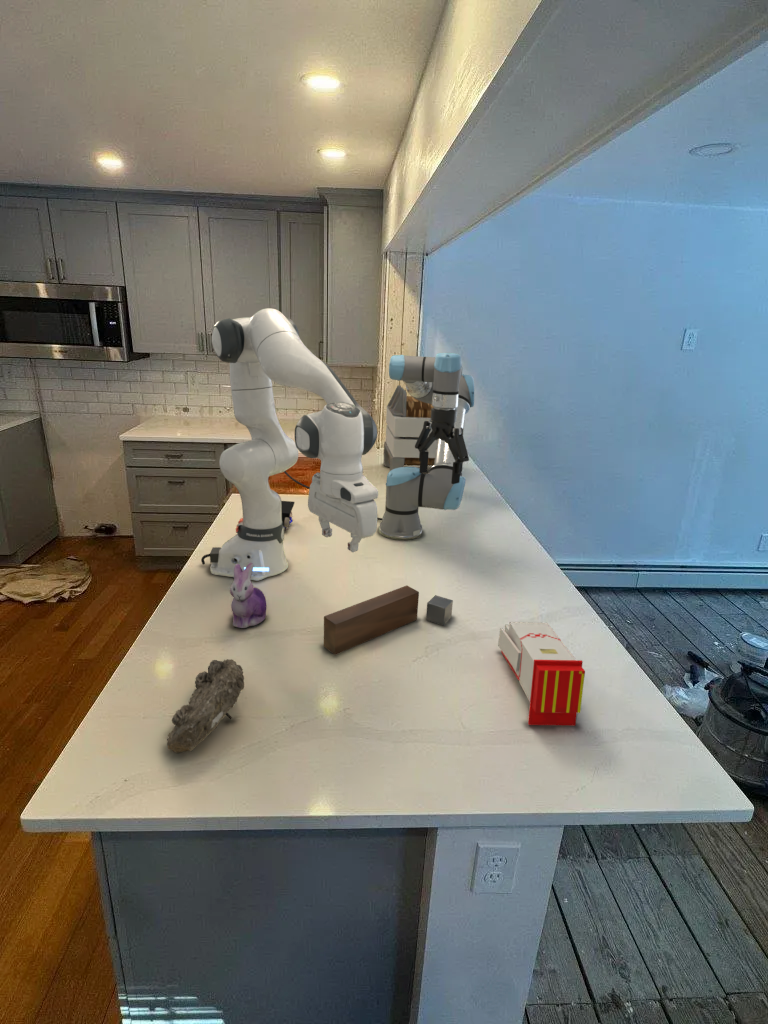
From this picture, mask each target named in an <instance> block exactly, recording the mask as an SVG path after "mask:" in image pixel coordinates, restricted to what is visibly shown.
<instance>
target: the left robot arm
mask: <svg viewBox="0 0 768 1024" xmlns="http://www.w3.org/2000/svg"><path fill="white" fill-rule="evenodd" d="M211 330H212V332H211V344H212V348H213V351H214V354H215V355H216V357H217V358H218V360H220V361H221V362H225V363H229V384H230V394H231V400H232V407H233V415H234V418H235V420H236V421H237V422H238V423H239V424H241V425H243V426H245V428H246V429H247V430H248V432H249V434H250V438H251V440H248V441H243V442H242V441H241V442H238V443H235V444H234V445H231V446H230V447H228V448H227V449H224V450H223V451H222V452H221V454H220V455H219V461H218V462H219V470H220V473H221V474H222V476H223V478H225V480H227V482H230V483H231V484H233V486H234V487H235V488H236V490H237V491H238V493H239V497H240V500H241V509H242V510H241V511H242V517H241V518H240V519H239V520H238V522H237V525H236V528H235V533H236V534H234V535H233V536H232V537H230V538H229V539H228V540H226V541H225V542H224V543H223V544H222V546H221V547H216V546H215V547H212V548H211V550H210V552H209V553H208V554H204V555H202V557H201V558H200V559H201V565H203V566H204V565H206V562H205V559H206V558H209V562H210V569H209V570H210V573H211V574H212V575H214V576H223V577H229V578H234V567H235V565H236V564H239V565H240V567H241V569H242V571H244V569H245V568H246V567H247V565H248V564H249V563H253V572H252V575H251V579H250V580H251V581H257V582H258V581H262V580H263V579H266V578H269V577H273V576H277V575H279V574H282V573H284V572H285V571H286V570H287V569H288V568H289V563H288V560H287V556H286V553H285V546H284V540H285V539H284V538H285V532H284V529H285V528H284V527H283V521H282V508H281V501H282V497H281V496H280V494H279V493H278V492H276V491H275V490H273V489H271V487H270V483H269V477H271V476H275V475H279V474H282V473H284V471H286V472H287V471H288V470H290V468H292V467H293V466H295V465H296V464H297V462H298V459H299V452H300V453H301V454H302V455H303V456H305V457H306V458H309V459H319V460H320V466H319V467H320V468H319V472H316V473H314V474H313V476H312V477H311V483H310V485H309V487H310V488H309V489H308V499H307V508H308V510H309V512H310V513H311V514H313V515H316V516H317V517H318V522H319V525H320V528H321V535H322V536H323V537H324V538H331V537H332V536H333V528H331V525H330V524H332V525H334V526H336V527H338V528H340V529H341V530H344V531H346V532H348V533H350V538H351V541H349V542H347V551H350V552H351V553H356V552H358V550H359V543H360V542H361V541H362V540H363V539H368V538H371V537H373V536H374V535H375V534H376V532H377V529H378V520H377V517H378V505H377V502H376V501H375V500H376V499H378V498H379V490H378V488H377V487H376V486H375V485H374V484H373V483H372V482H370V480H369V479H368V478H367V477H366V476H365V475H364V466H363V463H362V458H363V456H365V455H367V454H368V453H369V452H370V451H371V450H372V449H373V447H374V445H375V444H376V441H377V439H378V428H377V427H378V426H377V424H376V421H375V420H374V418H373V416H372V415H370V413H369V412H368V411H367V410H366V409H364V408H363V407H362V406H361V405H360V404H359V402H358V401H357V400H356V399H355V398H354V396H353V394H351V392H350V391H349V389H348V388H347V387H346V385H345V384H344V383H343V381H342V380H341V379H340V378H339V376H338V375H337V373H336V372H335V371H334V370H333V369H332V368H331V366H330V365H329V364H328V363H326V362H325V361H323V360H321V359H320V358H319V357H317V356H316V355H315V354H314V353H313V352H312V351H311V350H310V349H309V348H308V347H307V346H306V345H305V344H304V342H303V341H302V339H301V337H300V334H299V333H300V332H299V328H298V327H297V324H296V323H295V322H294V320H293V319H291V318H290V317H286V316H285V315H284V314H283V313H282V312H281V311H280V310H278V309H275V308H272V307H268V308H267V307H266V308H262V309H260V310H258V311H256V312H255V313H254V314H253V315H252V316H245V317H238V318H233V319H232V318H230V317H229V318H226V319H221V320H218V321H217V322H216V323H214V325H213V327H212V329H211ZM273 382H274V383H275V384H277V385H280V386H283V387H287V388H293V389H299V390H303V391H306V392H310V393H312V394H315V395H317V396H318V397H320V398H322V399H323V401H324V402H325V403H326V404H325V405H324V406H323V408H322V409H321V410H319V411H317V412H316V411H315V412H312V413H307V414H304V415H302V416H301V417H300V418H299V420H298V421H297V422H296V425H295V427H294V440H293V439H292V438H291V437H290V436H289V435H287V433H285V431H284V430H283V428H282V426H281V424H280V422H279V418H278V416H277V411H276V403H275V397H274V390H273V389H274V388H273Z"/></svg>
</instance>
